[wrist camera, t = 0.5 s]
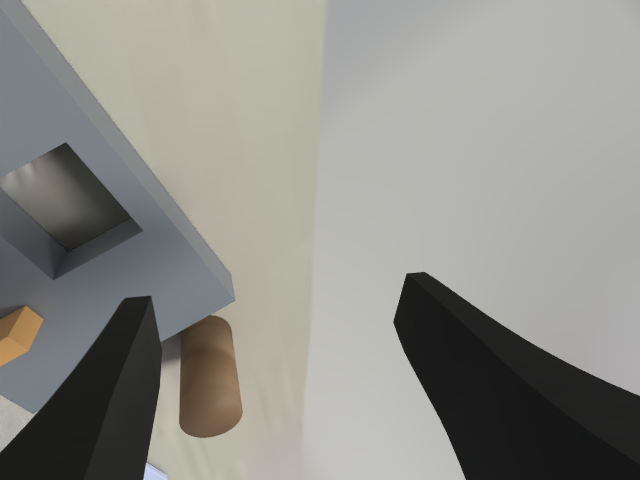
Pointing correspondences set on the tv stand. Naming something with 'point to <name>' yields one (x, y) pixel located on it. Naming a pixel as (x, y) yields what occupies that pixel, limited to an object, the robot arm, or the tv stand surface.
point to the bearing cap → (17, 333)
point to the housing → (100, 252)
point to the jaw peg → (208, 379)
